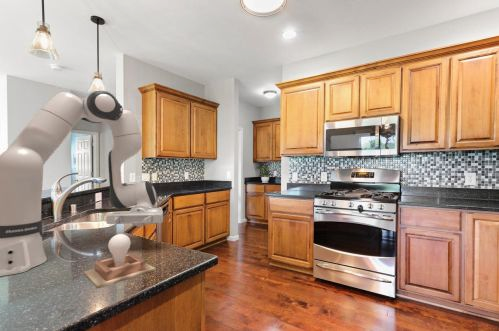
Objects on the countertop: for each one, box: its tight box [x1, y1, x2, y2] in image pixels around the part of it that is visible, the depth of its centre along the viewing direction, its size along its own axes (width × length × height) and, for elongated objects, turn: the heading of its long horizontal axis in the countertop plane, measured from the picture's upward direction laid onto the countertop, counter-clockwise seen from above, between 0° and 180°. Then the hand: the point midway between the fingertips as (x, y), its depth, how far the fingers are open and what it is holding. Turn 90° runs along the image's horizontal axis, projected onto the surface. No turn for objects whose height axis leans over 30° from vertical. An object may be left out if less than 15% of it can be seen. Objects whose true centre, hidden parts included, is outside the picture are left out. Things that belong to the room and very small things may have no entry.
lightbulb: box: [107, 233, 131, 268], centre depth 77 cm, size 6×6×11 cm
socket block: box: [83, 253, 156, 289], centre depth 77 cm, size 16×14×3 cm
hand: (130, 221), depth 90 cm, fingers open, 8 cm apart
